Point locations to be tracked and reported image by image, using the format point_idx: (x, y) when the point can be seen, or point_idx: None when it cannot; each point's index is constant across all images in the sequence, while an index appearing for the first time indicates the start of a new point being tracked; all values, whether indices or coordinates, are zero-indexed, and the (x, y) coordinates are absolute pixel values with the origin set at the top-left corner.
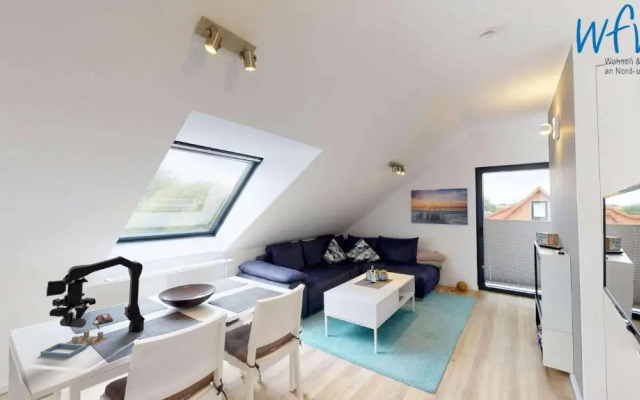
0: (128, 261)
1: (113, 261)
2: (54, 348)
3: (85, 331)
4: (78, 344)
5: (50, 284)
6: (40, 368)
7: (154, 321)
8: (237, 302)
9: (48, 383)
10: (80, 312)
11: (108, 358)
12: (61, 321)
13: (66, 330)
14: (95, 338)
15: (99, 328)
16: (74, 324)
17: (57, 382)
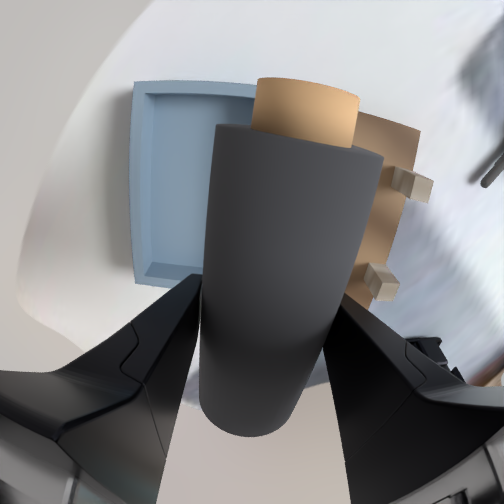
0: None
1: None
2: (224, 95)
3: (418, 185)
4: None
5: None
6: (70, 193)
7: (480, 347)
8: None
9: (35, 305)
10: (358, 443)
11: (193, 385)
12: (217, 151)
13: (476, 8)
14: (372, 250)
15: (486, 187)
16: (199, 362)
17: (48, 325)
